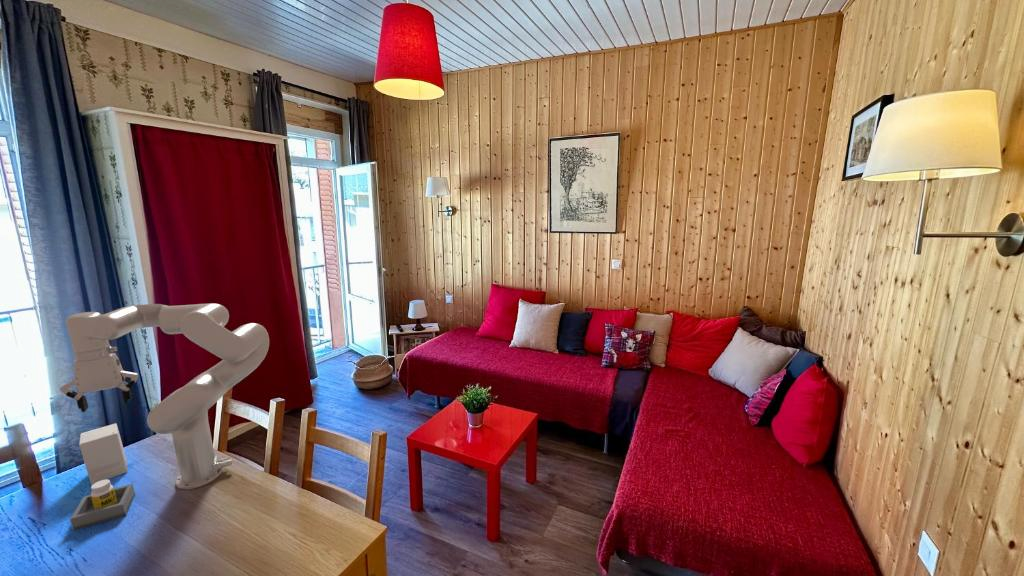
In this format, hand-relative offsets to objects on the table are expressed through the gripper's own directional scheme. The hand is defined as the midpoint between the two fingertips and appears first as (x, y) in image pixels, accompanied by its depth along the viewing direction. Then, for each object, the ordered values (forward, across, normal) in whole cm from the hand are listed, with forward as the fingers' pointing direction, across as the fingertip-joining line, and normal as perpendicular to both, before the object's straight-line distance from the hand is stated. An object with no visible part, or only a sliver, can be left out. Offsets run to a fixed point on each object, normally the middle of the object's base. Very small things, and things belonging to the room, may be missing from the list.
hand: (106, 405), depth 127 cm
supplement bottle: (+27, +2, +12) cm, 30 cm away
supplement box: (+28, +7, -11) cm, 31 cm away
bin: (+28, +2, +12) cm, 31 cm away
